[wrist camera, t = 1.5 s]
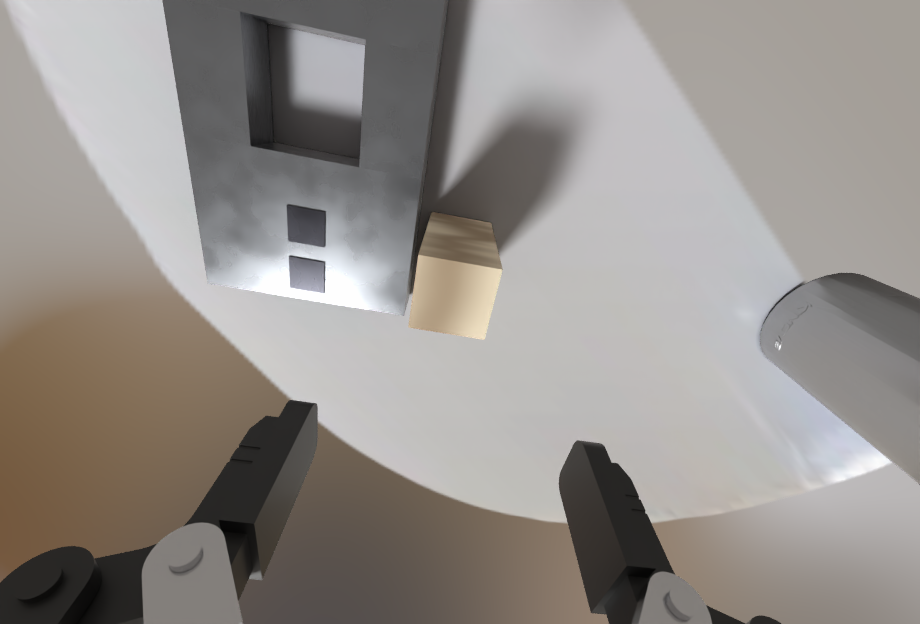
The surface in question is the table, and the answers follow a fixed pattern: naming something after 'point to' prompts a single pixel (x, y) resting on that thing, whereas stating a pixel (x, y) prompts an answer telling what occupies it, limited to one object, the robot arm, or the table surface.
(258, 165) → the metal socket plate
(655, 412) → the table surface
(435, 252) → the maple block
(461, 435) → the table surface
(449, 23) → the table surface
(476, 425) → the table surface
